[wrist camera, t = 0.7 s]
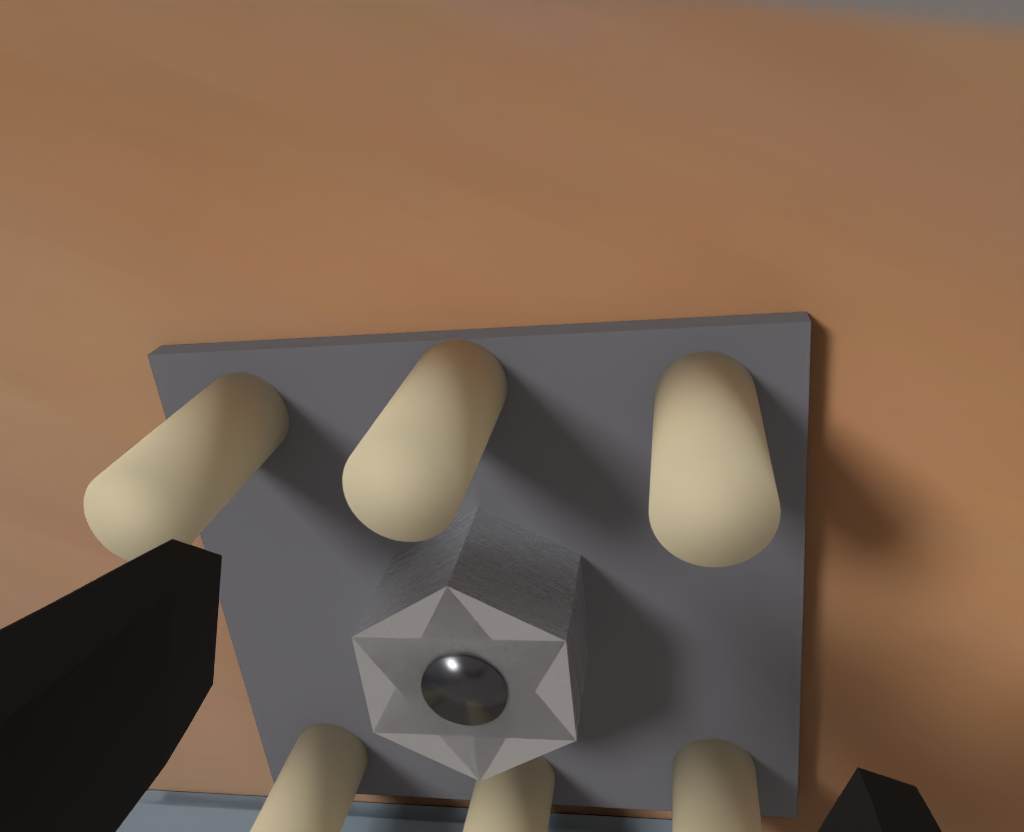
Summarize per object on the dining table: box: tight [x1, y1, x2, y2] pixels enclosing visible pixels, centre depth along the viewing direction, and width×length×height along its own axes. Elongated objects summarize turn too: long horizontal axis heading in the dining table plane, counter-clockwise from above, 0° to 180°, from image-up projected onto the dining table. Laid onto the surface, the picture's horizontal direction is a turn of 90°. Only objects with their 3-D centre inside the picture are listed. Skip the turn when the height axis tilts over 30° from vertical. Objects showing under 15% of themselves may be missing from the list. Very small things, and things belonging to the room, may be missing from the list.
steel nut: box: [352, 507, 589, 781], centre depth 19 cm, size 4×5×3 cm
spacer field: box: [84, 312, 811, 832], centre depth 19 cm, size 14×13×5 cm
